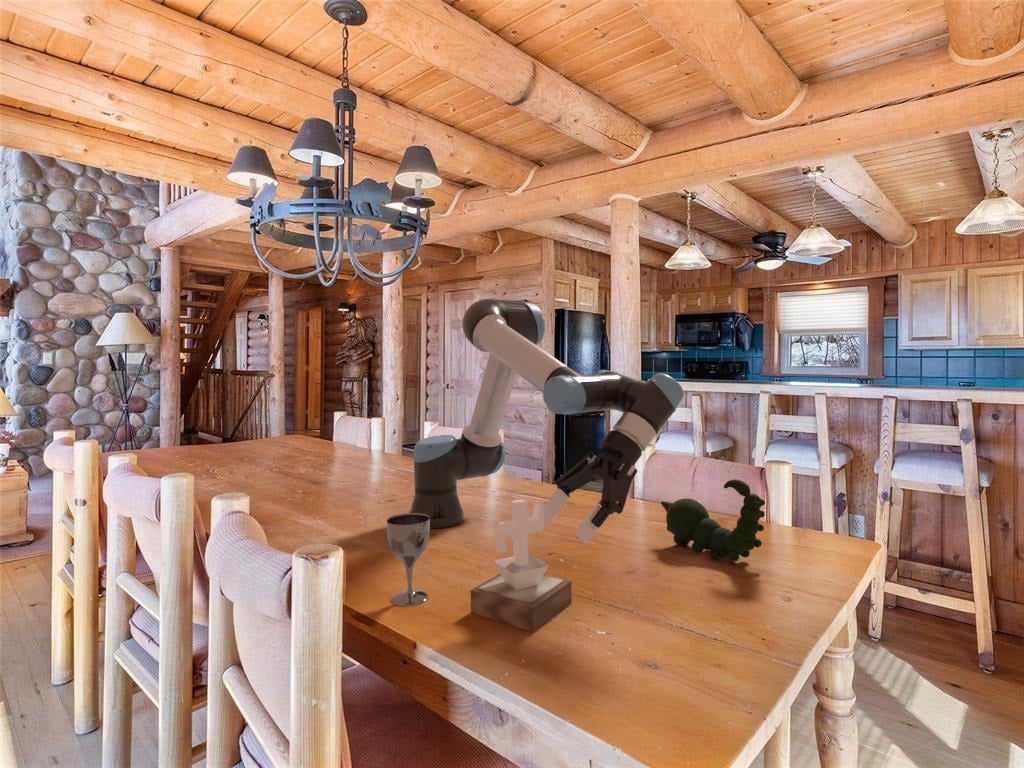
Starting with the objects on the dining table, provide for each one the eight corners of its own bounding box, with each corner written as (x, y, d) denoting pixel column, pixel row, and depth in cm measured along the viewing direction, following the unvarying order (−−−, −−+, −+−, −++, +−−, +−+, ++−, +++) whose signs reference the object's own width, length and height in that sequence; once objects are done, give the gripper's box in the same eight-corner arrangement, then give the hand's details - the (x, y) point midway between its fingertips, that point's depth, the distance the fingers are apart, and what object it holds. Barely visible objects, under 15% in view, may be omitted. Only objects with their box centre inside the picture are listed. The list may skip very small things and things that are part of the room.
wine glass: (412, 585, 108) (410, 510, 107) (440, 596, 103) (438, 517, 102) (379, 599, 102) (377, 520, 101) (407, 611, 97) (405, 527, 96)
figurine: (488, 581, 99) (487, 499, 98) (533, 571, 103) (532, 492, 102) (507, 596, 92) (506, 508, 92) (554, 584, 97) (553, 501, 96)
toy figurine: (767, 571, 117) (671, 531, 138) (775, 483, 115) (676, 456, 136) (741, 581, 112) (645, 538, 132) (749, 490, 110) (650, 461, 130)
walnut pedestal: (471, 612, 96) (470, 588, 96) (512, 586, 106) (512, 565, 106) (533, 632, 88) (533, 606, 88) (571, 602, 99) (571, 579, 99)
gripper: (682, 463, 96) (612, 562, 90) (602, 445, 118) (542, 522, 113) (658, 435, 93) (584, 535, 88) (581, 422, 116) (518, 500, 110)
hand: (560, 528), depth 100 cm, fingers open, 13 cm apart
